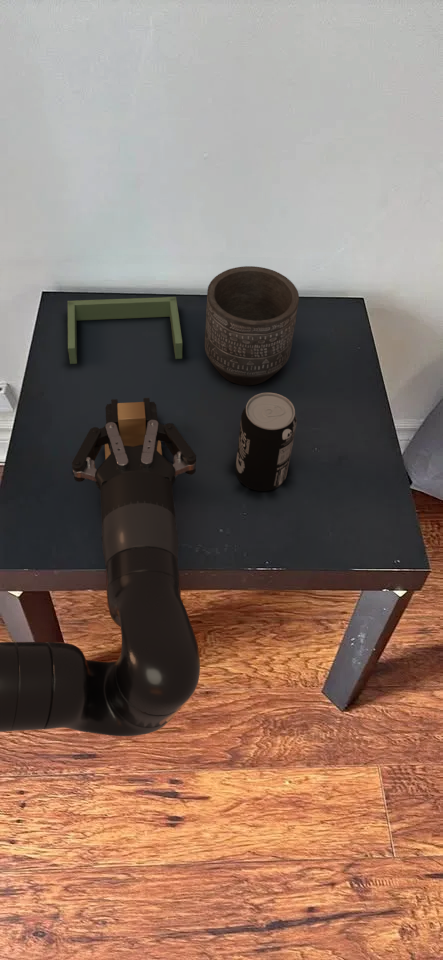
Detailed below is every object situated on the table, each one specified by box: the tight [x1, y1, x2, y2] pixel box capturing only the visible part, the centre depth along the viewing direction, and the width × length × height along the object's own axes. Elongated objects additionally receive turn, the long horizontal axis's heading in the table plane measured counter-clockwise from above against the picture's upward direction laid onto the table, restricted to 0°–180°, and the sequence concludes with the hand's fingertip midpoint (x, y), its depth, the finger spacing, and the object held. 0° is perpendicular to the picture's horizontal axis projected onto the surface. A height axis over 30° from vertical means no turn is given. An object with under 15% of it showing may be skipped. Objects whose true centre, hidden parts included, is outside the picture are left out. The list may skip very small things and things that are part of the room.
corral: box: [67, 296, 183, 365], centre depth 109 cm, size 16×10×3 cm, turn 97°
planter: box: [204, 265, 300, 386], centre depth 103 cm, size 12×12×13 cm
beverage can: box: [235, 392, 298, 492], centre depth 91 cm, size 7×7×12 cm
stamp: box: [104, 401, 163, 461], centre depth 89 cm, size 7×8×14 cm
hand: (130, 404), depth 86 cm, fingers closed on stamp, 3 cm apart
